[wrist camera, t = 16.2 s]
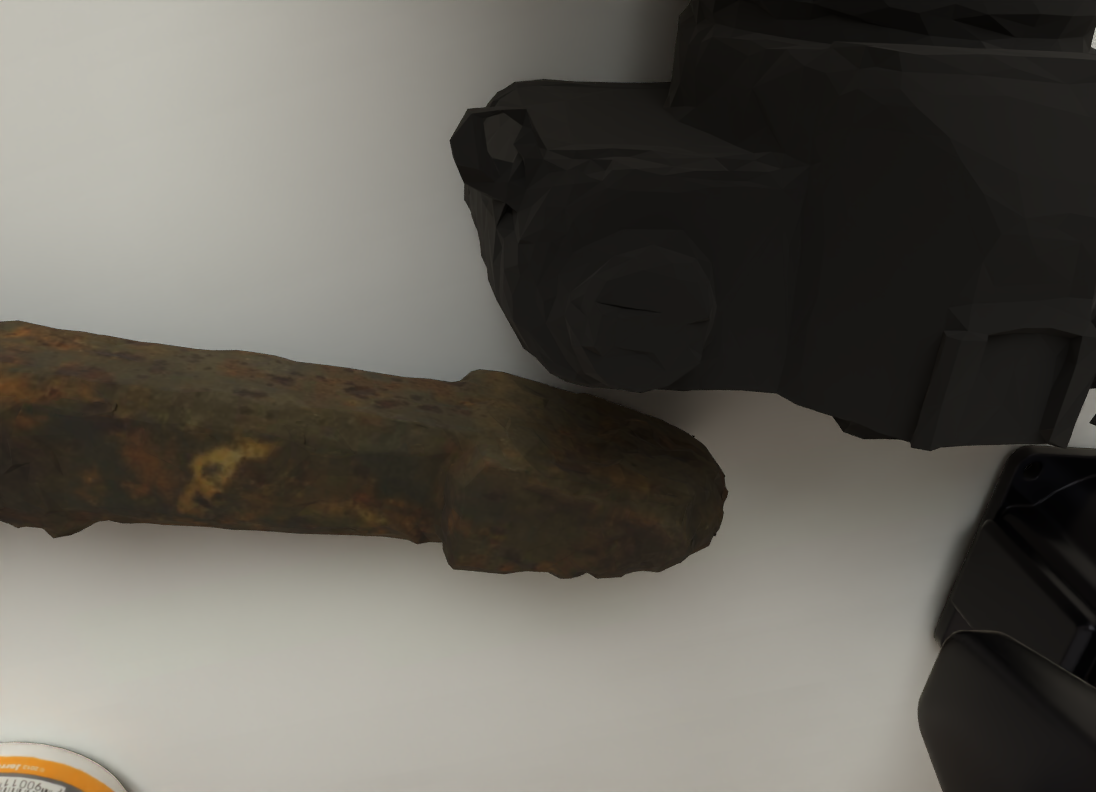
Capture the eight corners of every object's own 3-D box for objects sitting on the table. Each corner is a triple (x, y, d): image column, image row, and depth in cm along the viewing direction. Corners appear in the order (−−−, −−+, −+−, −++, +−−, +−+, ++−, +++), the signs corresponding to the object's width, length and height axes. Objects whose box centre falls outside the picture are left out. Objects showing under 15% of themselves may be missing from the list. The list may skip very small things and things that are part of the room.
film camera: (1261, -224, 18) (1970, -305, 10) (1087, 273, 22) (1478, 489, 14) (431, -319, 15) (497, -534, 7) (425, 267, 19) (461, 527, 12)
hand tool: (-234, 429, 19) (-396, 580, 15) (-258, 237, 17) (-450, 349, 13) (660, 528, 24) (719, 662, 20) (710, 387, 22) (787, 502, 18)
